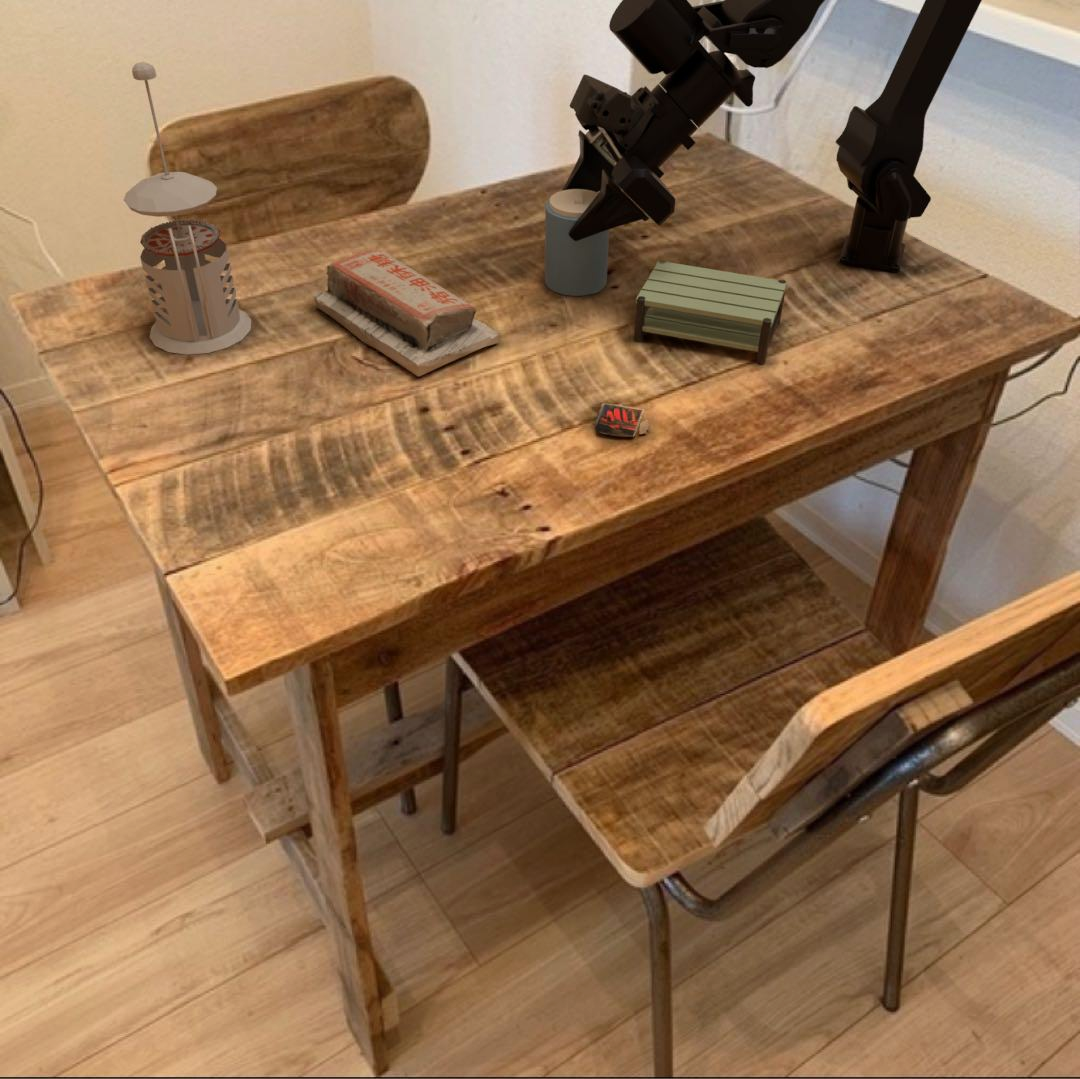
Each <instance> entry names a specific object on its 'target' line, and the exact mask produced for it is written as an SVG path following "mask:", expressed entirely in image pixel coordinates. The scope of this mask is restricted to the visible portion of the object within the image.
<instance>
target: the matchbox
mask: <svg viewBox="0 0 1080 1079" xmlns="http://www.w3.org/2000/svg"><path fill="white" fill-rule="evenodd" d="M644 414H645V409H644V408H643V409H642V408H638V407H633V406H626V405H623V404H622V403H619V404H614V403H613V404H612V403H605V402H603V403H601V404H600V409H598V414H597V415H598V416H597V418H596V419H595V422H594V423H595V432H596V433H601V434H603V435H604V434H605V435H610V436H616V437H622V438H623V437H627V438H628V437H635V435H636V434H637V435H643V434H647V433H648V432H649V431H650V428H651V427H650V421H649V419H648V418H646V419H644V420H643V415H644Z"/></svg>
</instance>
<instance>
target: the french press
mask: <svg viewBox="0 0 1080 1079" xmlns="http://www.w3.org/2000/svg"><path fill="white" fill-rule="evenodd" d="M131 73H132V77H133V80H135V81H144V84H145V88H146V93H147V94H146V95H147V98H148V102H149V107H150V111H151V116H152V120H153V124H154V129H155V133H156V137H157V138H156V139H157V143H158V147H159V152H160V155H161V161H162V164H163V169H164V172H159V173H157V174H153V175H152V176H151V175H150V176H148V177H146V178H143V179H141V180H140V181H138V183H136V184H135V185H133V187H131V188H130V189H129V190H127V192H125V195H124V198H123V201H124V203H125V205H126V206H127V207H128V209H130V211H132V212H134V213H137V214H139V215H142V216H150V217H156V218H157V217H158V218H159V217H162V218H163V217H175V220H173V221H170V220H169V221H166V222H162V223H160V224H157V225H155V226H153V227H152V226H151V227H150V228H149V229H148V230H147V231H145V232H144V233H143V234H141V238H140V242H139V243H140V245H141V246H142V247H143V249H142V251H141V254H140V256H139V258H140V263H141V266H142V270H143V271H144V272H145V273H146V274H147V275H144V278H145V282H146V284H147V285H148V286H149V287H148V288H147V290H148V293H149V294H148V295H149V296H150V297H151V300H150V302H151V306H152V308H153V310H155V311H153V315H154V318H155V323H154V324H153V325H152V326H151V328H150V333H149V339H150V340H151V342H152V343H153V345H154V346H155V347H157V348H159V349H161V350H163V351H166V352H167V353H174V354H179V355H180V354H181V355H188V356H189V355H201V354H209V353H210V354H211V353H213V352H218V351H220V350H223V349H224V350H225V349H227V348H230V347H232V346H233V345H235V344H237V343H239V342H240V341H242V340H244V339H245V337H246V336H247V335H248V334H249V333H250V332H251V330H252V319H251V318H250V317H249V315H248V314H247V313H246V311H244V310H242V309H240V307H239V301H238V299H237V298H236V297H237V291H236V287H235V286H234V283H235V282H234V276H233V275H231V273H232V266H231V263H230V262H229V258H230V255H229V250H228V245H227V243H226V242H225V241H223V239H221V238H220V235H221V230H220V229H219V228H218V227H217V226H216V225H215V224H213V223H210V222H208V221H205V220H199V219H197V220H196V219H189V218H188V219H187V220H186V219H183V220H182V219H180V220H179V216H181V215H187V214H190V213H193V212H196V211H198V210H200V209H202V208H205V207H206V206H207V205H208V204H210V203H211V202H212V201H213V200H214V199H215V197H216V196H217V190H218V187H217V186H216V185H215V184H214V183H213V182H212V181H210V180H208V179H205V178H203V177H200V176H198V175H195V174H191V173H188V172H186V171H185V172H184V171H169V170H168V166H167V163H166V158H165V153H164V149H163V144H162V140H161V135H160V130H159V126H158V121H157V117H156V113H155V108H154V104H153V99H152V95H151V94H152V93H151V90H150V85H149V81H150V80H153V79H155V78H157V72H156V69H155V67H154V65H152V64H151V63H149V62H146V61H141V62H136V63H135V64H134V65H133V66H132V68H131ZM168 171H169V172H168ZM205 255H207V256H210V257H213V258H217V259H216V260H215V259H214V261H211V260H208V259H206V256H205ZM163 261H164V266H163V267H162V268H157V267H156V266H157V265H159V264H160V263H162V262H163ZM224 271H225V273H224V274H225V275H222V273H223V272H224ZM155 281H156V282H157V283H158V284H157V285H156V284H154V282H155ZM227 283H229V284H228V286H227V287H225V286H226V284H227ZM156 294H159V296H160V297H158V296H157V295H156ZM229 295H231V296H230V298H228V297H229ZM159 306H161V307H162V309H161V308H160V307H159Z"/></svg>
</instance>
